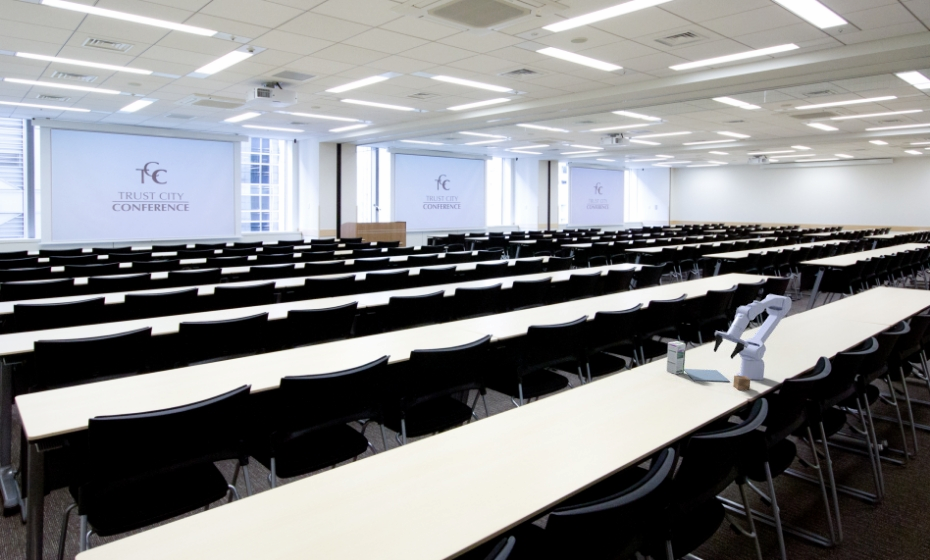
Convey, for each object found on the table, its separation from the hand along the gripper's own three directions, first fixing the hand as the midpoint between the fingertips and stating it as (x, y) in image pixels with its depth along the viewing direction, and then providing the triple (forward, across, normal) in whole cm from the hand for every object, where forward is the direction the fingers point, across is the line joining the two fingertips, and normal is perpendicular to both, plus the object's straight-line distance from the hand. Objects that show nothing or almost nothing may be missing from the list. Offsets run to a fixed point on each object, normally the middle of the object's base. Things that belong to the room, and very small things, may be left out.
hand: (722, 354), depth 261 cm
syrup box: (+14, -18, +12) cm, 26 cm away
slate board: (+8, -6, +15) cm, 18 cm away
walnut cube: (+9, +11, +8) cm, 16 cm away
